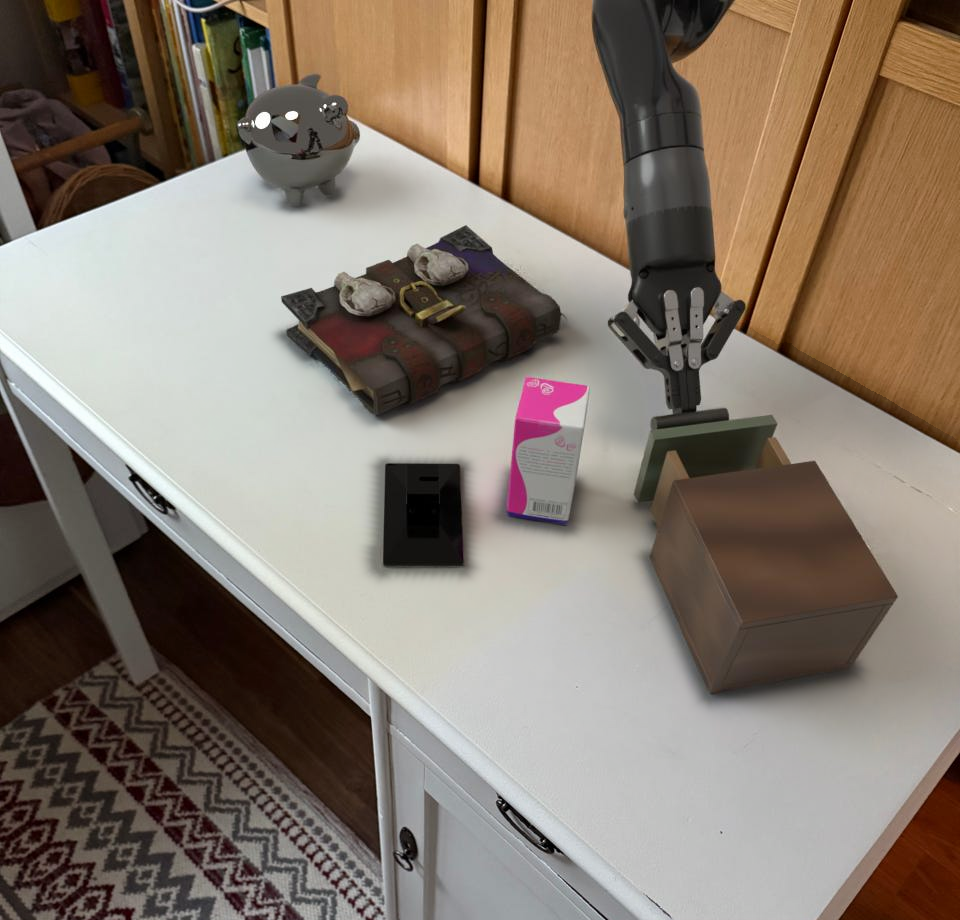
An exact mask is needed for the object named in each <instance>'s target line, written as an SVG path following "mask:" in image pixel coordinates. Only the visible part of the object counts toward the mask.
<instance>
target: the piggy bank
mask: <svg viewBox="0 0 960 920" xmlns="http://www.w3.org/2000/svg"><path fill="white" fill-rule="evenodd" d="M321 78H322V76H321V74H319V73H310V74H308V75H305V76H303V77H302V78H301V79H300V80H299V81H298V83H297V84H296V83H293V84H285V85H279V86H276V87H273V88H270V89H267V90H265V91H264V92H261V93H260V94H258V95H257V97H255V98H254V99H253V100H252V101H251V102H250V104H249V105H248V107H247V109H246V110H245V113H244V116H243V117H241V118H240V119H239V120H238V121H237V123H236V127H235V128H236V132H237V134H238V135H239V138H240V139H241V140H242V141H243V144H244V149H245V151H246V152H245V153H246V155H247V158H248V160H249V161H250V164H251V165H252V167H253V169H254V170H255V172H256V173H257V174H258V175H259V177H261V178H262V179H263V180H264V182H266V183H267V184H269V185H271V187H272V186H273V187H274V188H276V189H279V190H281V191H283V193H284V194H285V198H286V199H285V200H286V201H287V204H288V205H289V206H292V207H298V206H300V205H301V204H302V203H303V202H304V197H305V192H306V191H307V190H310V189H315V188H318V190H319V191H320V193H321V194H322V195H323V196H326V197H331V196H334V195H335V193H336V192H337V184H336V178H337V177H338V176H339V175H341V173H342V172H343V171H344V170H345V168H346V167H347V165H348V164H349V162H350V160H351V158H352V155H353V153H354V149H355V147H356V146H357V145H358V143H359V142H360V139H361V133H360V132H361V131H360V128H359V126H358V124H357V123H355V122H354V121H352V120H350V119H349V117H348V113H349V104H348V100H347V99H346V98H345V97H344V96H342V95H339V94H329V93H328V92H327V91H324V90H322V89H321V88H319V87H318V83H319V82H320V79H321Z"/></svg>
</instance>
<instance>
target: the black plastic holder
mask: <svg viewBox="0 0 960 920" xmlns="http://www.w3.org/2000/svg"><path fill="white" fill-rule="evenodd" d="M461 482H462V481H461V465H460V464H459V463H421V462H419V463H417V462H416V463H413V462H412V463H406V462H405V463H402V462H400V463H399V462H398V463H397V462H395V463H394V462H388V463H387V462H386V463H385V465H384V499H383V501H384V502H383V541H382V542H383V543H382V544H381V546H380V547H379V561H380V563H381V564H382V566H383V567H384V568H463V567H464V563H465V561H464V560H465V559H464V558H465V557H464V556H465V555H464V539H463V538H464V535H463V534H464V533H463V510H462V508H463V507H462V485H461V484H462V483H461Z"/></svg>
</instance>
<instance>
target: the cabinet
mask: <svg viewBox="0 0 960 920" xmlns="http://www.w3.org/2000/svg"><path fill="white" fill-rule="evenodd" d="M657 528H658V527H657ZM649 559H650V561H651V563H652V565H653V568H654V570H655V572H656V575H657V578H658V579H659V582H660V584H661V586H662V589H663V591H664V593H665V596H666V598H667V600H668V602H669V604H670V607H671V609H672V611H673V613H674V616H675V618H676V621H677V623H678V625H679V627H680V630H681V632H682V634H683V636H684V639H685V641H686V643H687V646H688V648H689V651H690V653H691V655H692V657H693V659H694V661H695V664H696V666H697V668H698V671H699V673H700V676H701V679H702V680H703V682H704V684H705V687H706V689H707V691H708V694H715V693H720V692H725V691H732V690H736V689H741V688H747V687H752V686H759V685H763V684H769V683H774V682H780V681H785V680H791V679H796V678H803V677H807V676H813V675H818V674H825V673H829V672H836V671H841V670H846V669H851V668H852V667H853V665H854V664H855V662H856V661H857V659H858V657H859V656H860V655H861V653H862V652H863V650H864V649H865V647H866V645H867V644H868V643H869V641H870V640H871V638H872V637H873V636H874V634H875V633H876V631H877V630H878V628H879V627H880V625H881V624H882V622H883V621H884V619H885V617H886V616H887V614H888V613H889V611H890V610H891V609H892V607H893V605H894V603H896V601H897V600H898V598H899V595H898V593H897V592H896V590H895V588H894V587H893V586H892V584H891V582H890V581H889V579H888V577H887V576H886V574H885V572H884V571H883V569H882V568H881V566H880V563H878V561H877V559H876V558H875V556H874V555H873V553H872V551H871V550H870V547H868V545H867V543H866V541H865V540H864V539H863V536H862V535H861V533H860V532H859V530H858V527H856V525H855V523H854V522H853V520H852V518H851V517H850V515H849V513H848V512H847V511H846V508H845V507H844V505H843V504H842V502H841V501H840V499H839V497H838V495H837V494H836V493H835V490H834V489H833V488H832V486H831V485H830V483H829V481H828V479H827V477H826V476H825V474H824V473H823V471H822V470H821V468H820V466H819V465H818V463H817V461H816V460H810V461H803V462H794V463H791V464H787V465H780V466H773V467H766V468H758V469H751V470H744V471H737V472H730V473H722V474H715V475H708V476H701V477H694V478H686V479H679V480H674V481H673V483H672V486H671V489H670V492H669V495H668V499H667V502H666V505H665V509H664V512H663V515H662V518H661V522H660V525H659V528H658V529H657V532H656V535H655V539H654V542H653V545H652V547H651V551H650V555H649Z"/></svg>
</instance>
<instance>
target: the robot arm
mask: <svg viewBox="0 0 960 920" xmlns="http://www.w3.org/2000/svg"><path fill="white" fill-rule="evenodd" d="M735 1H736V0H592V5H591V32H592V38H593V42H594V47H595V50H596V54H597V58H598V62H599V63H600V67H601V69H602V73H603V77H604V79H605V82H606V85H607V89H608V92H609V95H610V97H611V101H612V103H613V106H614V108H615V111H616V113H617V117H618V120H619V132H620V133H619V134H620V135H619V136H620V146H621V155H622V167H623V189H622V190H623V191H622V195H623V196H622V197H623V209H622V210H623V211H622V212H623V219H624V221H625V230H626V240H627V251H628V253H627V254H628V262H629V272H630V273H629V274H630V278H631V283H630V288H629V291H628V293H627V301H628V302H627V303H626V304H625V305H624V306H623V307H622V308H621V310H620V311H618V313H615V314H614V315H612V316H611V317H609V318H608V320H607V327H608V328H609V329H610V331H611V332H612V333H613V335H615V337H616V338H618V340H620V342H621V343H622V344H623V345H624V347H625V348H626V349H627V350H628V351H629V352H630V353H631V354H632V356H633V357H634V358H635V359H636V360H637V361H638V363H640V365H641V366H642V367H643V368H644V369H645V370H653V371H657V372H659V373H661V374H662V375H663V380H664V393H665V404H666V406H667V408H668V410H671V411H672V414H678V413H686V412H694V411H697V408H698V407H697V406H701V402H702V393H701V391H702V389H701V379H700V378H701V377H700V370H701V368H702V366H703V365H705V364H706V363H709V362H711V361H714V360H716V359H717V358H718V357H719V356H720V354H721V352H722V350H723V349H724V348H725V345H726V343H727V342H728V340H729V339H730V337H731V335H732V334H733V331H734V330H735V328H736V326H737V324H738V323H739V321H740V320H741V318H742V316H743V314H744V312H745V311H746V308H747V305H746V302H745V301H744V300H743V299H737V300H734V299H733V298H732V297H730V296H729V295H727V294H726V293H725V292H723V290H722V289H723V287H722V282H721V280H720V278H719V277H718V275H717V272H716V248H715V234H714V221H713V220H714V219H713V210H712V196H711V182H710V176H709V171H708V167H707V162H706V155H705V144H704V132H703V131H704V130H703V118H702V116H703V115H702V108H701V101H700V96H699V92H698V90H697V89H696V87H695V86H694V85H693V84H692V83H691V82H690V81H689V80H687V79H686V78H685V77H683V76H682V75H681V74H680V73H679V72H678V71H677V70H676V69H675V67H674V65H673V64H676V63H678V62H680V61H683V60H684V59H687V57H689V56H691V55H692V54H693V53H695V52H696V51H698V50H699V49H700V48H701V47H702V46H703V45H704V44H705V43H706V42H707V40H708V39H709V38H710V37H711V36H712V34H713V33H714V32H715V31H716V29H717V27H718V26H719V24H720V23H721V21H722V20H723V19H724V17H725V16H726V15H727V14H728V12H729V10H730V9H731V8H732V6H733V5H734V3H735ZM713 308H714V309H713ZM712 310H713V312H712ZM711 312H712V317H713V319H714V321H713V324H712V325H711V327H710V329H709V331H708V332H707V333H706V336H705V337H704V324H705V323H706V321H707V320H708V318H709V316H710V314H711ZM641 320H642V322H643V323H644V324H645V325H646V327H647V328H648V329H649V331H651V332H652V333H653V340H654V342H653V341H652V340H651V339H650V338H649V336H648V335H647V334H646V333H645V332H644V331H643V330H642V328H641V327H640V325H641Z"/></svg>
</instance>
